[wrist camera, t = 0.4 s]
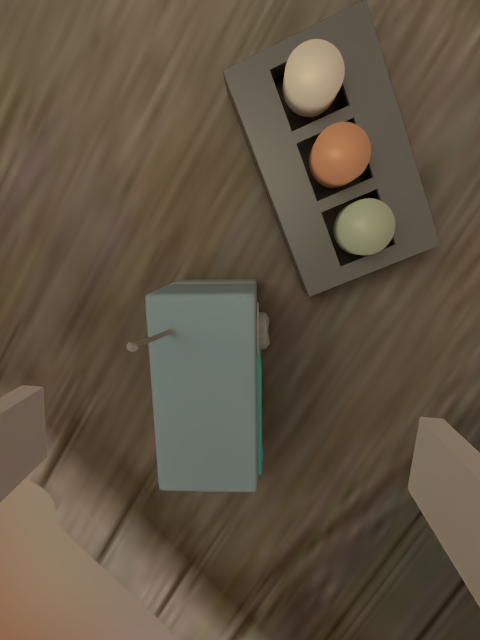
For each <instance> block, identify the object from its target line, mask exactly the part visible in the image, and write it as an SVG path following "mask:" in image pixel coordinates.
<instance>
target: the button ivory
mask: <svg viewBox="0 0 480 640" xmlns="http://www.w3.org/2000/svg"><path fill="white" fill-rule="evenodd" d="M344 74H345V66H344V61H343V58H342V55H341V53H340V52H339V50H338V49H337V48H336V47H335V46H334V45H333V44H332V43H330V42H328V41H326V40H322V39H311V40H307V41H305V42H303V43H301V44H300V45H298V46H297V47H296V48H295V49H294V50H293V52H292V53H291V54H290V56H289V58H288V60H287V63H286V67H285V73H284V80H283V96H284V100H285V102H286V104H287V106H288V107H289V108H290V109H291V110H292V111H293V112H294V113H295V114H297V115H300V116H303V117H314V116H317V115H320V114H322V113H323V112H325V111H326V110H327V109H328V108H329V107H330V106H331V104H332V103H333V101H334V99H335V97H336V95H337V93H338V91H339V89H340V87H341V85H342V83H343V80H344Z"/></svg>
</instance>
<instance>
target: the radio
mask: <svg viewBox="0 0 480 640" xmlns="http://www.w3.org/2000/svg"><path fill="white" fill-rule="evenodd" d="M145 304H146V318H147V332H148V338H145V339H142V340H140V341H137V342H133V341H132V342H129V343H128V344H127V346H126V348H127V349H128V351H131V352H134V351H137V349H138V348H139V347H141V346H144V345H146V344H148V346H149V359H150V373H151V387H152V401H153V414H154V428H155V442H156V456H157V469H158V482H159V488H160V490H168V491H217V492H255V491H256V490H257V480H258V476H260V475H261V474H262V461H263V448H262V366H261V349H262V350H264V349H266V348H267V347H268V345H269V344H270V340H269V335H268V326H269V320H270V319H269V317H268V316H267V314H266V313H265V312H259V303H258V302H257V282H256V280H255V279H197V280H178V281H176V282H174V283H171V284H169V285H167V286H165V287H162V288H160V289H158V290H156V291H153V292H151V293H149V294H147V295H146V297H145Z"/></svg>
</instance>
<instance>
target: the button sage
mask: <svg viewBox="0 0 480 640" xmlns="http://www.w3.org/2000/svg"><path fill="white" fill-rule="evenodd" d="M394 232H395V218H394V215H393V212H392V211H391V209H390V208H389V207H388V206H387V205H386V204H385V203H384V202H382V201H380V200H377V199H373V198H366V199H361V200H358V201H356V202H354V203H352V204H349V205H347V206H346V207H344V208H343V209H342V210H341V211H340V212H339V213H338V215H337V216H336V218H335V221H334V224H333V236H334V239H335V241H336V243H337V245H338V246H339V247H340V248H341V249H342V250H344V251H345V252H347V253H350V254H357V255H371V254H375V253H377V252H379V251H381V250H382V249H384V248H385V247H386V246H387V245H388V244H389V242H390V241H391V239H392V237H393V235H394Z"/></svg>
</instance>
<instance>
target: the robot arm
mask: <svg viewBox="0 0 480 640" xmlns="http://www.w3.org/2000/svg"><path fill="white" fill-rule="evenodd" d="M46 457H47V447H46V429H45V411H44V393H43V387H39V386H27V385H22V386H20V387H18V388H16V389H15V390H13V391H11V392H9V393H8V394H6V395H4V396H2V397H1V398H0V502H1V501H2V500H3V499H4V498H5V497H6V496H7V495H8V494H9V493H10V492H11V491H12V490H13V489H14V488H16V487H17V486H18V485H19V484H20V483H21V482H22V481H23V480H24V479H25V478H26V477H27V476H28V475H29V474H30V473H31V472H32V471H33V470H34V469H35V468H36V467H37V466H38V465H39V464H40V463H41V462H42V461H43V460H44V459H45V458H46ZM408 490H409V492H410V494H411V495H412V497H413V499H414V500H415V502H416V504H417V505H418V507H419V508H420V510H421V512H422V513H423V515H424V517H425V518H426V520H427V522H428V523H429V525H430V527H431V528H432V530H433V531H434V533H435V535H436V536H437V538H438V540H439V541H440V543H441V545H442V546H443V548H444V550H445V551H446V553H447V554H448V556H449V558H450V559H451V561H452V563H453V564H454V566H455V568H456V569H457V571H458V573H459V574H460V576H461V577H462V579H463V581H464V582H465V584H466V586H467V587H468V589H469V591H470V592H471V594H472V596H473V597H474V599H475V600H476V602H477V604H478V605H479V607H480V453H479V452H478V451H477V450H476V449H475V448H474V447H473V446H472V445H471V444H470V443H469V442H467V441H466V440H465V439H464V438H463V437H462V436H461V435H460V434H459V433H458V432H457V431H456V430H455V429H454V428H452V427H451V426H450V425H449V424H448V423H447V422H446V421H445V420H444V419H440V418H428V417H420V420H419V426H418V431H417V437H416V443H415V449H414V454H413V460H412V466H411V472H410V478H409V483H408Z"/></svg>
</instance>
